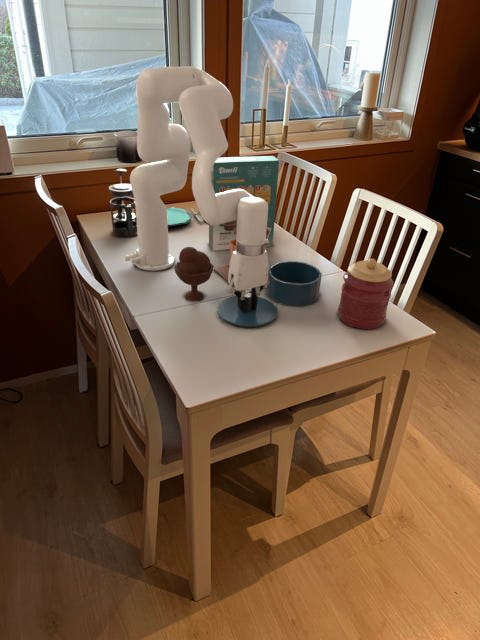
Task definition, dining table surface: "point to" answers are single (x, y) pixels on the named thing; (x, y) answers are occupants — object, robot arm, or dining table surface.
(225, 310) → the lid
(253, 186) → the cake mix box
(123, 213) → the french press
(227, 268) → the plate
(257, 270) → the robot arm
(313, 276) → the pot
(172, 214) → the cutlery set
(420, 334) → the dining table surface
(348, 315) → the kitchen canister
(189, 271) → the ice cream bowl
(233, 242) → the cup
